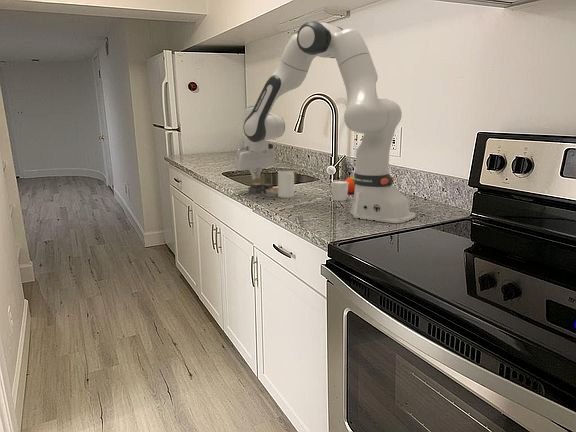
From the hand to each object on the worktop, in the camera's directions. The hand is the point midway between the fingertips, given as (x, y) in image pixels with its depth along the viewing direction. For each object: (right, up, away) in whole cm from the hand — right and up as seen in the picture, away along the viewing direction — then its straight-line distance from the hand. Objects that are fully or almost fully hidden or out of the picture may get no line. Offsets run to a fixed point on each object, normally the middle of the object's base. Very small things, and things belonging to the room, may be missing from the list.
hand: (255, 178), depth 192 cm
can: (+13, -9, -7) cm, 17 cm away
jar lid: (+8, -6, 0) cm, 10 cm away
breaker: (0, -4, +1) cm, 4 cm away
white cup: (+34, -9, -9) cm, 37 cm away
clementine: (+41, -6, +2) cm, 41 cm away
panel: (+6, -7, +1) cm, 9 cm away
